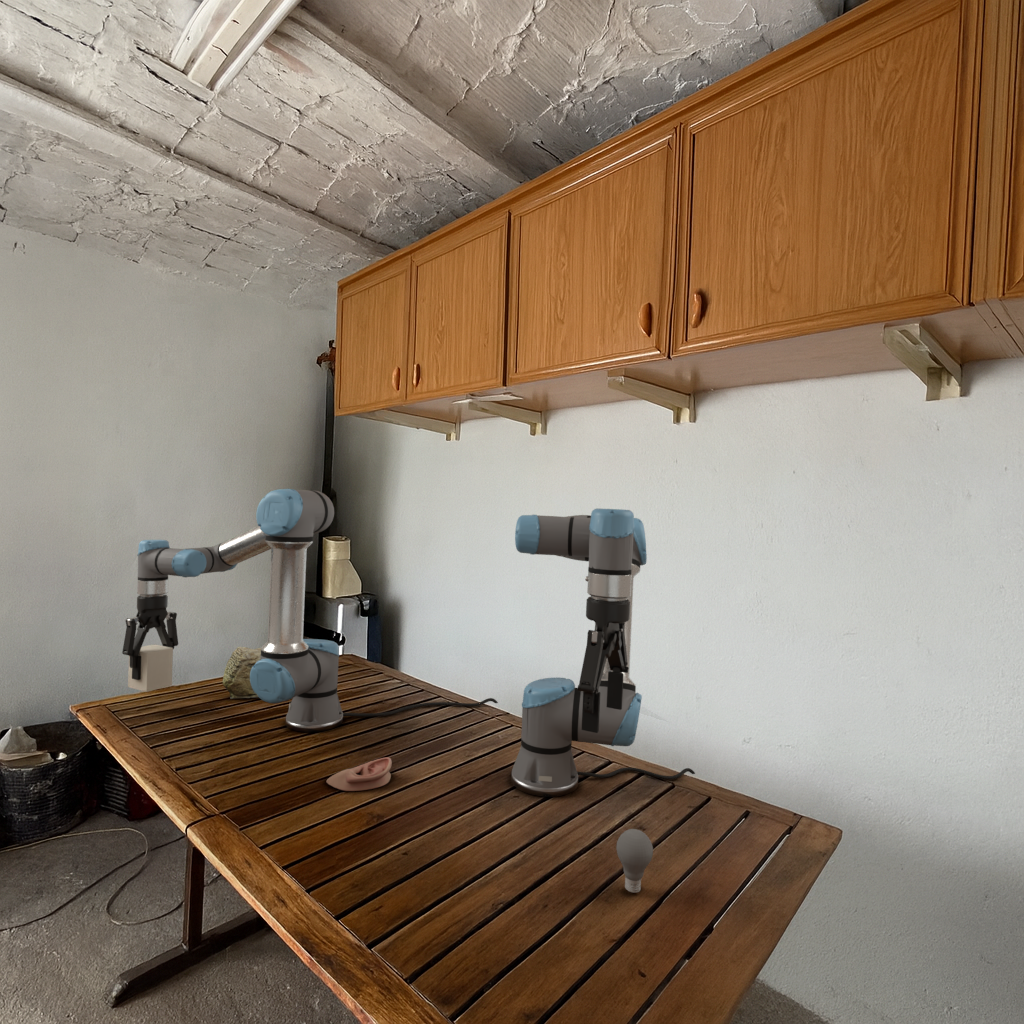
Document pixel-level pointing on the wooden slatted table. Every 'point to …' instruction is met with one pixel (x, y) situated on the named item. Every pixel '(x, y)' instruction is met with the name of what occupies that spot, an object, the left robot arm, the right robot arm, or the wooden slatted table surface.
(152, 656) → the brick
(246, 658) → the fossil
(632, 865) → the light bulb
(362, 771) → the anatomical model
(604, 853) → the wooden slatted table surface
